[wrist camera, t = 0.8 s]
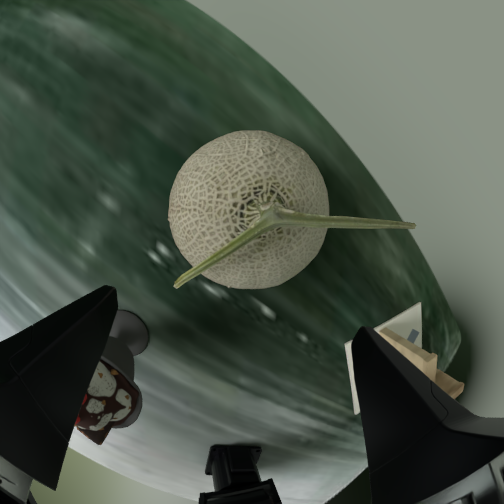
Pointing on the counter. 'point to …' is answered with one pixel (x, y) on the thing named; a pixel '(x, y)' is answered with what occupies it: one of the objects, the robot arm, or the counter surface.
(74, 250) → the counter surface
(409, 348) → the fence panel
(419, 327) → the card
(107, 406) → the sundae
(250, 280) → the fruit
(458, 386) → the wooden plank
